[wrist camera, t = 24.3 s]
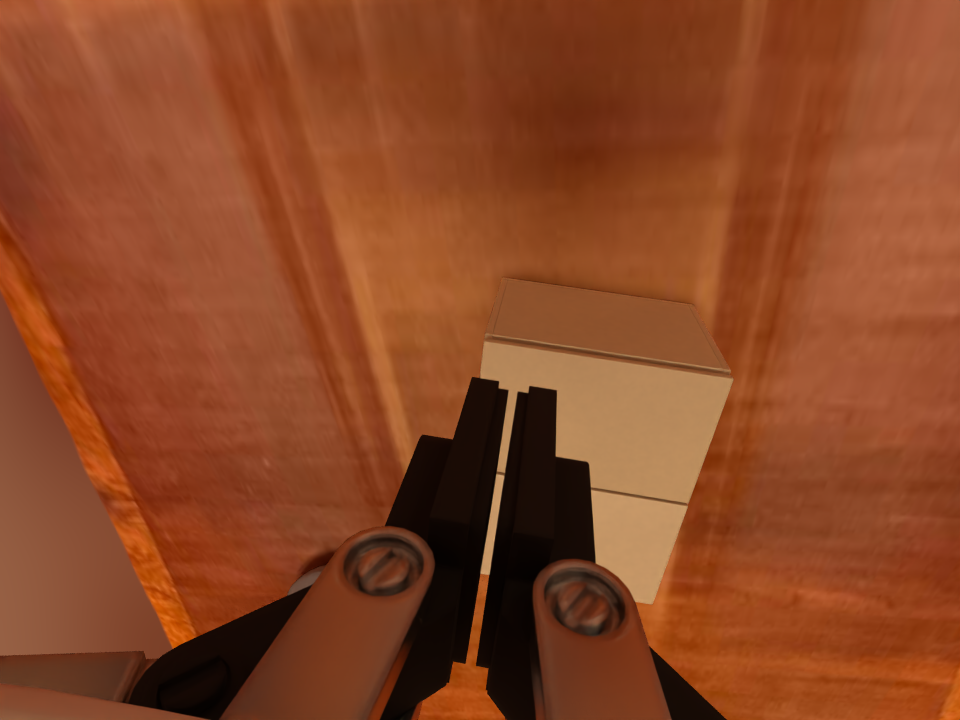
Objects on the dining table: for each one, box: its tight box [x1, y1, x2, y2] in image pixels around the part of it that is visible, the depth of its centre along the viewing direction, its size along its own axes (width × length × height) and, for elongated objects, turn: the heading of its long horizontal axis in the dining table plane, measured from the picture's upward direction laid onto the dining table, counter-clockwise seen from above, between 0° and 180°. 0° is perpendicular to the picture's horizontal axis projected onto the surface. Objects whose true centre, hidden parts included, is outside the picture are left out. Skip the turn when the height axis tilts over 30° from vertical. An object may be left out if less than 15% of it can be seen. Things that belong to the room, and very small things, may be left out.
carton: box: [480, 277, 731, 604], centre depth 37 cm, size 17×13×10 cm
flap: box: [480, 338, 733, 503], centre depth 31 cm, size 8×13×1 cm, turn 84°
